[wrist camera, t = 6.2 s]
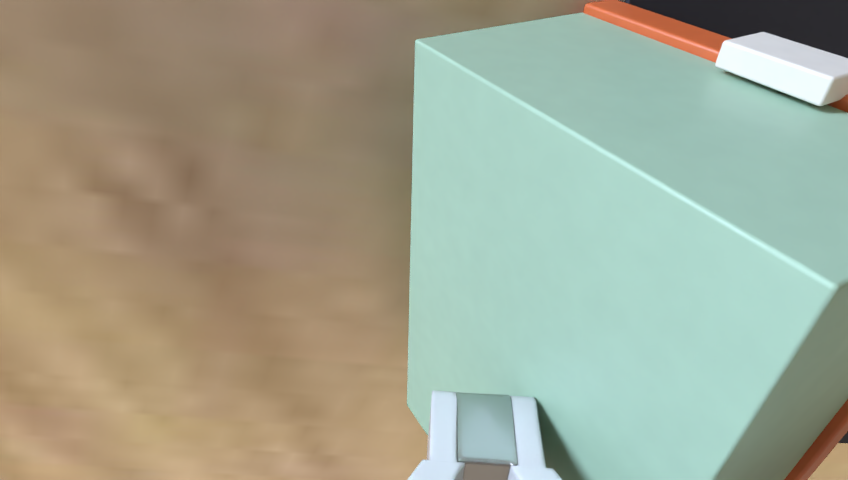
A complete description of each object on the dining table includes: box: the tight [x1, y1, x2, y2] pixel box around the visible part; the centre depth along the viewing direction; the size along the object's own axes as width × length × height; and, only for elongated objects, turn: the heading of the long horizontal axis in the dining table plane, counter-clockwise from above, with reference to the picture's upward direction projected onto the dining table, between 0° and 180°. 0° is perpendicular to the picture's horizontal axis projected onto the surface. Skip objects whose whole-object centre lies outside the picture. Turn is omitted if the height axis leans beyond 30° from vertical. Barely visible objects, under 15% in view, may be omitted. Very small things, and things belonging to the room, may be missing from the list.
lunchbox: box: [407, 0, 848, 480], centre depth 13 cm, size 6×13×9 cm
